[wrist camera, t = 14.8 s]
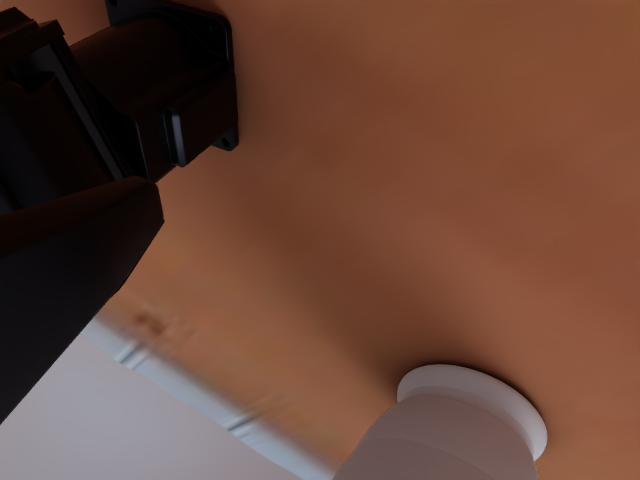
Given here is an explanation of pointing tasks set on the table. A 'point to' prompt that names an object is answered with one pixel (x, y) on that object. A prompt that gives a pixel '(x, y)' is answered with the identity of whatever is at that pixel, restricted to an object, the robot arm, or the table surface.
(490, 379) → the jar
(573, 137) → the table surface
